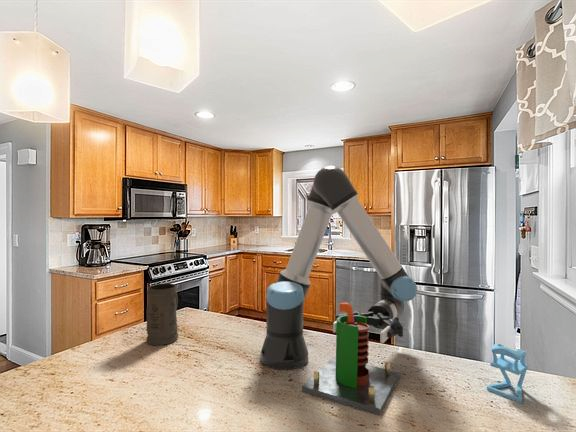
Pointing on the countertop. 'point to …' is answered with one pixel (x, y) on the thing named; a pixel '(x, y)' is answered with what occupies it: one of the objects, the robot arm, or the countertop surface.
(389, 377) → the plate
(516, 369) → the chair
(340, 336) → the motor
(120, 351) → the countertop surface
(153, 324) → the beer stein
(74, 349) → the countertop surface
